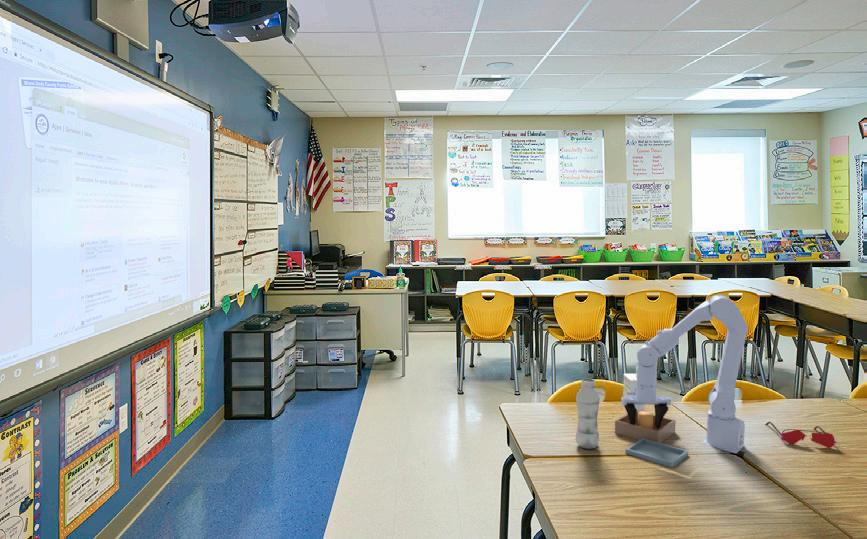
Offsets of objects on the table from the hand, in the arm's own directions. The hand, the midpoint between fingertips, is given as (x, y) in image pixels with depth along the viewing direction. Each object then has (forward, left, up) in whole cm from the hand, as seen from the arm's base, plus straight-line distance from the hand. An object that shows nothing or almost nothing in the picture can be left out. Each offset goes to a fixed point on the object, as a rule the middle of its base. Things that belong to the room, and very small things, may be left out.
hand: (644, 427), depth 164 cm
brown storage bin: (0, 0, -2) cm, 2 cm away
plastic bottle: (+8, +21, -3) cm, 23 cm away
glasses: (-34, -32, -3) cm, 47 cm away
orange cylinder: (0, 0, -2) cm, 2 cm away
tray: (-9, +13, -2) cm, 16 cm away
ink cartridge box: (+13, -20, -3) cm, 24 cm away
